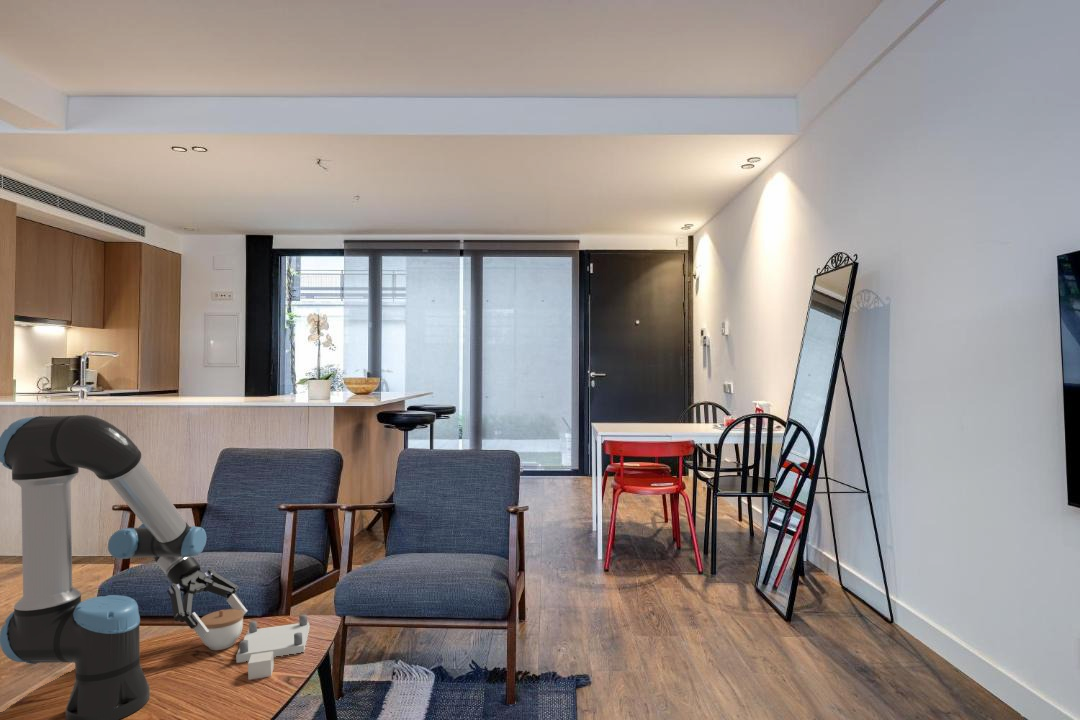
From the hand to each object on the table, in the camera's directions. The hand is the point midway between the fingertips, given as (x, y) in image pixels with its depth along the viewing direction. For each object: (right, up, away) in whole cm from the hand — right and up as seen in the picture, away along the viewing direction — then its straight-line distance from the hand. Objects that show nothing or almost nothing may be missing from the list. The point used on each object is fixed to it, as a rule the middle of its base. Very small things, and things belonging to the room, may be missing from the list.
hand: (225, 624), depth 165 cm
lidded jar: (-1, -6, 0) cm, 6 cm away
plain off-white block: (+17, -5, -17) cm, 24 cm away
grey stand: (+14, -5, -1) cm, 15 cm away
